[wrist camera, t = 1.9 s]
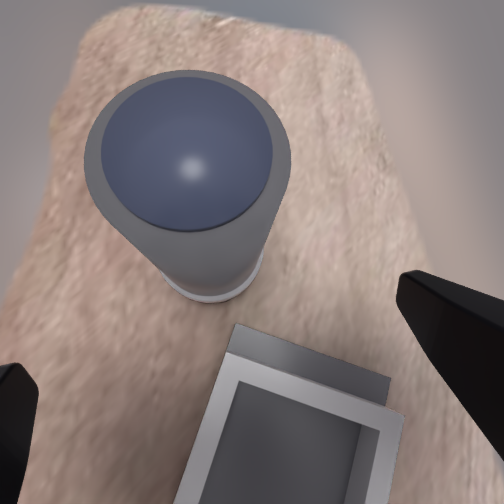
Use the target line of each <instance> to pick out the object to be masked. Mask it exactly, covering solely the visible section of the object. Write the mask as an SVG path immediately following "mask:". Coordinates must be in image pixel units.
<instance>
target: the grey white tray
mask: <svg viewBox="0 0 504 504" xmlns="http://www.w3.org/2000/svg"><path fill="white" fill-rule="evenodd" d="M390 381H391V378H389V377H387V376H384V375H381V374H378V373H375V372H373V371H370V370H367V369H364V368H361V367H358V366H356V365H353V364H350V363H347V362H344V361H342V360H339V359H336V358H333V357H330V356H327V355H325V354H322V353H319V352H316V351H313V350H311V349H308V348H305V347H302V346H299V345H296V344H294V343H291V342H288V341H285V340H282V339H280V338H277V337H274V336H271V335H268V334H265V333H263V332H260V331H257V330H254V329H251V328H249V327H246V326H243V325H240V324H237V323H236V324H235V327H234V329H233V332H232V335H231V338H230V341H229V344H228V347H227V350H226V352H225V355H224V358H223V361H222V364H221V367H220V370H219V372H218V375H217V378H216V381H215V384H214V387H213V390H212V393H211V395H210V398H209V401H208V404H207V407H206V410H205V413H204V416H203V418H202V421H201V424H200V427H199V430H198V433H197V436H196V439H195V441H194V444H193V447H192V450H191V453H190V456H189V459H188V462H187V464H186V467H185V470H184V473H183V476H182V479H181V482H180V485H179V487H178V490H177V493H176V496H175V499H174V502H173V504H388V500H389V495H390V490H391V485H392V480H393V474H394V469H395V464H396V459H397V454H398V449H399V444H400V439H401V433H402V428H403V423H404V418H405V416H404V415H402V414H400V413H398V412H396V411H394V410H392V409H389V408H387V407H385V404H386V400H387V395H388V390H389V386H390Z"/></svg>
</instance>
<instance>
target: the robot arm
mask: <svg viewBox="0 0 504 504" xmlns="http://www.w3.org/2000/svg"><path fill="white" fill-rule="evenodd" d="M396 303H397V306H398V308H399V310H400V312H401V313H402V315H403V317H404V318H405V320H406V322H407V323H408V325H409V327H410V329H411V330H412V332H413V334H414V335H415V337H416V339H417V340H418V342H419V344H420V345H421V347H422V349H423V351H424V352H425V354H426V355H427V357H428V358H429V360H430V361H431V363H432V364H433V366H434V367H435V368H436V370H437V371H438V372H439V374H440V375H441V377H442V378H443V379H444V381H445V382H446V383H447V385H448V386H449V387H450V389H451V390H452V392H453V393H454V394H455V396H456V397H457V398H458V400H459V401H460V402H461V404H462V405H463V407H464V408H465V409H466V411H467V412H468V413H469V415H470V416H471V417H472V419H473V420H474V421H475V423H476V424H477V426H478V427H479V428H480V430H481V431H482V432H483V434H484V435H485V436H486V438H487V439H488V441H489V442H490V443H491V445H492V446H493V447H494V449H495V450H496V451H497V453H498V454H499V455H500V457H501V458H502V460H503V461H504V300H501V299H498V298H495V297H493V296H490V295H487V294H484V293H482V292H478V291H476V290H473V289H470V288H468V287H465V286H462V285H459V284H456V283H454V282H451V281H448V280H445V279H442V278H440V277H437V276H434V275H431V274H428V273H426V272H423V271H420V270H413V271H408V272H404V273H402V274H401V275H400V277H399V282H398V288H397V294H396ZM38 396H39V391H38V387H37V384H36V383H35V381H34V380H33V379H32V377H31V376H30V375H29V373H28V372H27V371H26V369H25V368H24V367H23V366H22V365H21V364H20V363H10V364H6V365H1V366H0V504H17V502H18V498H19V494H20V491H21V487H22V483H23V480H24V476H25V471H26V467H27V462H28V457H29V452H30V446H31V439H32V433H33V427H34V421H35V415H36V409H37V403H38Z"/></svg>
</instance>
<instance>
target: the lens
mask: <svg viewBox="0 0 504 504" xmlns="http://www.w3.org/2000/svg"><path fill="white" fill-rule="evenodd" d="M290 170H291V151H290V145H289V140H288V137H287V134H286V131H285V129H284V127H283V125H282V123H281V121H280V119H279V117H278V116H277V114H276V113H275V111H274V110H273V109H272V108H271V106H270V105H269V104H268V103H267V102H266V101H265V100H264V99H263V98H262V97H261V96H260V95H259V94H257V93H256V92H255V91H253V90H252V89H250V88H249V87H248V86H246V85H244V84H242V83H240V82H238V81H236V80H234V79H232V78H229V77H227V76H224V75H220V74H216V73H212V72H206V71H199V70H177V71H170V72H164V73H160V74H157V75H153V76H150V77H147V78H145V79H142V80H140V81H138V82H136V83H134V84H132V85H131V86H129V87H127V88H126V89H124V90H123V91H122V92H120V93H119V94H118V95H116V96H115V97H114V98H113V99H112V100H111V101H110V102H109V103H108V104H107V105H106V106H105V108H104V109H103V110H102V111H101V113H100V114H99V116H98V117H97V119H96V120H95V122H94V124H93V126H92V128H91V130H90V132H89V136H88V139H87V142H86V147H85V153H84V172H85V178H86V183H87V186H88V189H89V192H90V195H91V197H92V199H93V201H94V203H95V205H96V206H97V208H98V209H99V211H100V212H101V213H102V215H103V216H104V217H105V218H106V219H107V220H108V222H109V223H110V224H111V225H112V226H113V227H114V228H115V229H117V230H118V231H119V232H120V233H121V234H122V235H123V236H124V237H125V238H126V239H127V240H128V241H129V242H130V243H132V244H133V245H134V246H135V247H136V248H137V249H138V250H139V251H140V252H141V253H142V254H143V255H144V256H145V257H147V258H148V259H149V260H150V261H151V262H152V263H153V264H154V265H155V266H156V267H157V268H158V269H159V270H160V272H161V274H162V276H163V277H164V279H165V280H166V281H167V282H168V283H169V285H170V286H171V287H173V288H174V289H175V290H176V291H178V292H179V293H180V294H182V295H183V296H185V297H187V298H189V299H191V300H194V301H198V302H204V303H221V302H225V301H228V300H230V299H232V298H234V297H236V296H237V295H239V294H240V293H241V292H243V291H244V290H245V289H246V288H247V287H248V286H249V285H250V284H251V282H252V281H253V280H254V278H255V276H256V275H257V272H258V270H259V268H260V265H261V263H262V259H263V253H264V244H265V242H266V239H267V237H268V234H269V232H270V229H271V227H272V224H273V222H274V219H275V216H276V214H277V211H278V209H279V206H280V204H281V201H282V199H283V196H284V194H285V191H286V189H287V185H288V181H289V177H290Z"/></svg>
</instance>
